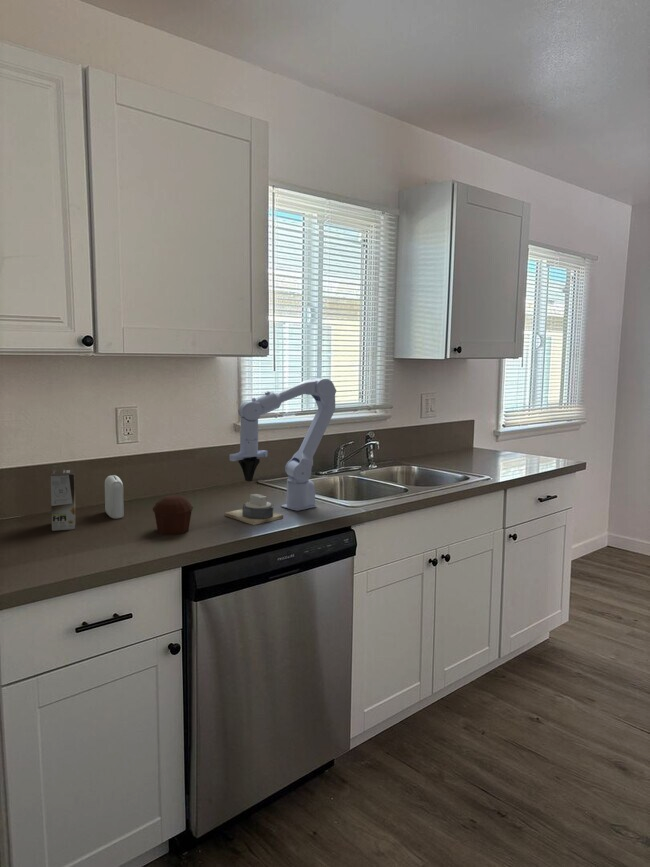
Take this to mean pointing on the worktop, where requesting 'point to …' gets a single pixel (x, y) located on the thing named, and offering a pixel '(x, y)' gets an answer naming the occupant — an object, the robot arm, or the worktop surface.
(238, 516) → the mount board
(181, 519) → the muffin
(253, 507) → the white flanged knob
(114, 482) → the grey rounded upright block
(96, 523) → the worktop surface
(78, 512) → the worktop surface
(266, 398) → the robot arm
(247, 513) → the grey faceted ring
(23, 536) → the worktop surface
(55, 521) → the coffee box
